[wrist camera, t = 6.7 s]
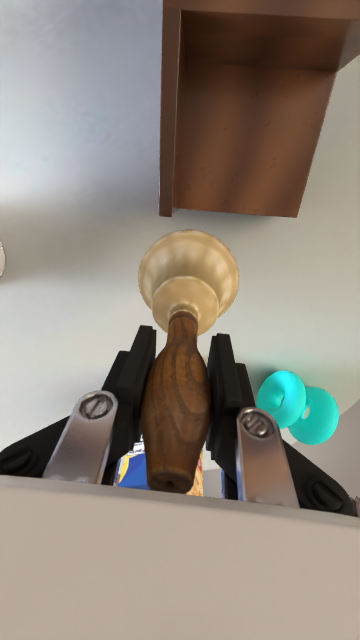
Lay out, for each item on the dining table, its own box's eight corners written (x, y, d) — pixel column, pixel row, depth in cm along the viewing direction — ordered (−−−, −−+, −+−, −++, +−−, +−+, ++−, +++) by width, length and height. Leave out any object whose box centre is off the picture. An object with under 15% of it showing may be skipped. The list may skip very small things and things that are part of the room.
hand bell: (131, 232, 19) (-55, 373, 5) (241, 226, 18) (380, 370, 4) (145, 326, 23) (64, 547, 9) (236, 324, 22) (300, 561, 8)
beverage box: (184, 353, 45) (175, 480, 26) (201, 396, 50) (203, 528, 31) (150, 361, 47) (117, 487, 27) (169, 402, 52) (153, 532, 32)
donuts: (288, 411, 51) (306, 458, 42) (248, 391, 49) (259, 436, 40) (325, 380, 46) (355, 426, 37) (283, 357, 44) (304, 400, 36)
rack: (171, 204, 33) (158, 216, 22) (187, -139, 21) (174, -533, 9) (284, 213, 33) (329, 229, 22) (370, -131, 20) (589, -530, 9)
